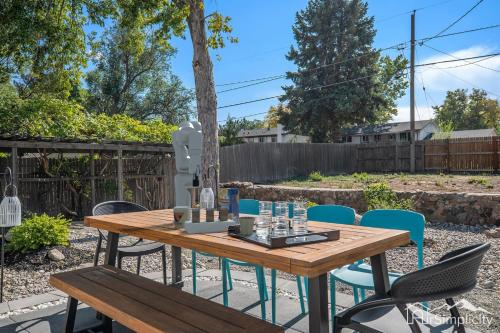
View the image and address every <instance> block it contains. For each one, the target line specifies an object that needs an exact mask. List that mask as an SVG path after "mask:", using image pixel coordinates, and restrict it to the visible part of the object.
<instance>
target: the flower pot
mask: <svg viewBox="0 0 500 333" xmlns="http://www.w3.org/2000/svg"><path fill="white" fill-rule="evenodd" d="M256 218H257V217H255V216H239V217H238V219H239V229H240V235H242V234H243V235H242V236H247V235H248V236H252V235H253V234H254V227H255V221H256ZM251 234H252V235H251Z"/></svg>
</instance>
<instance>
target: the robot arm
mask: <svg viewBox="0 0 500 333" xmlns="http://www.w3.org/2000/svg"><path fill="white" fill-rule="evenodd" d="M202 128H203V127H202V124H201V122H200V121H197V120H195V121H194V120H183V121H181V122H179V124H178V126H177V129H175V130H173V131H172V132H171V134H170V139H171V143H172V147H173V149H174V154H175V156H174V157H175V168H176V171H178V172H181V173H177V174H176V175H174V180H173V181H174V187H175V189H174V190H175V207H178V206H187V207H189V218H188V221H192V210H191V208H192V205H191V204H192V200H191V199H192V194H191V192H190V191H189V190H188V189H195V188H200V187H201V186H202V181H203V179H202V171H203V170H202V167H203V166H202V157H203V141H204V139H203V138H204V137H203V132H202V131H203V129H202ZM187 146H188V148H187Z"/></svg>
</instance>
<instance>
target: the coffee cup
mask: <svg viewBox="0 0 500 333" xmlns="http://www.w3.org/2000/svg"><path fill="white" fill-rule="evenodd" d="M172 210H173V212H172V213H173V226H174V228H175V229H185V224H184V222H186V221H188V218H189V207H187V206H178V207H176V206H173V208H172Z"/></svg>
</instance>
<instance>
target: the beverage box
mask: <svg viewBox="0 0 500 333" xmlns="http://www.w3.org/2000/svg"><path fill="white" fill-rule="evenodd" d="M219 207H228V219H230V220H233V221H236V224H237V225H240V223H239V219H238V217H240V188H232V187H231V188H228V187H227V188H225V187H224V188H223V187H221V188H218V220H220V209H219Z"/></svg>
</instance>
